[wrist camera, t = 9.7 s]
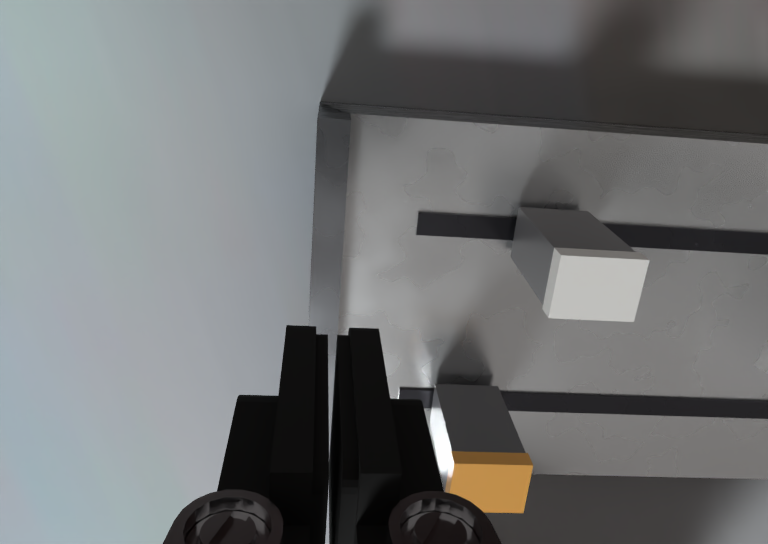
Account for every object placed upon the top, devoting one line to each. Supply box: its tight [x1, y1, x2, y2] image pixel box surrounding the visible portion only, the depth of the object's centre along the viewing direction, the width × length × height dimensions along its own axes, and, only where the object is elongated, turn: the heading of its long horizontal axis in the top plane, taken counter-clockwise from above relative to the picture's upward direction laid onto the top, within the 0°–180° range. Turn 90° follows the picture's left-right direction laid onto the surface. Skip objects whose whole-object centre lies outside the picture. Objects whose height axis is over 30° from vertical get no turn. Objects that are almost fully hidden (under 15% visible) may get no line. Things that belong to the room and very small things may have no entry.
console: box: [309, 102, 768, 479], centre depth 25 cm, size 26×14×3 cm, turn 85°
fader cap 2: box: [510, 207, 650, 322], centre depth 20 cm, size 2×2×5 cm
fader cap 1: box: [430, 384, 533, 513], centre depth 23 cm, size 2×2×5 cm
